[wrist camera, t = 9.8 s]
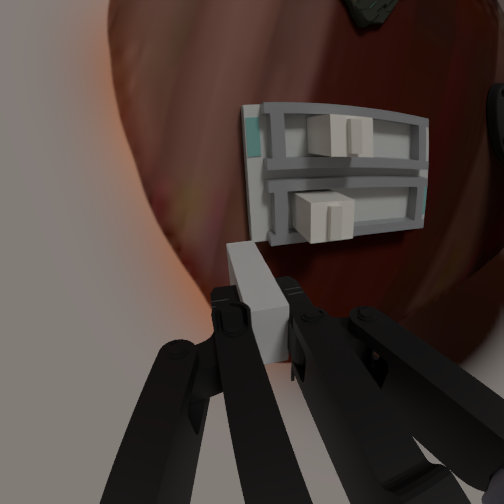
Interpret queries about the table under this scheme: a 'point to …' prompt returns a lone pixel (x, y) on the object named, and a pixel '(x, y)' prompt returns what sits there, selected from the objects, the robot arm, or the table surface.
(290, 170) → the switch plate
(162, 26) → the table surface
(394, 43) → the table surface
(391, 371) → the robot arm
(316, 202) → the tab
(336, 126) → the tab
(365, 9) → the firearm
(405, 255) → the table surface
